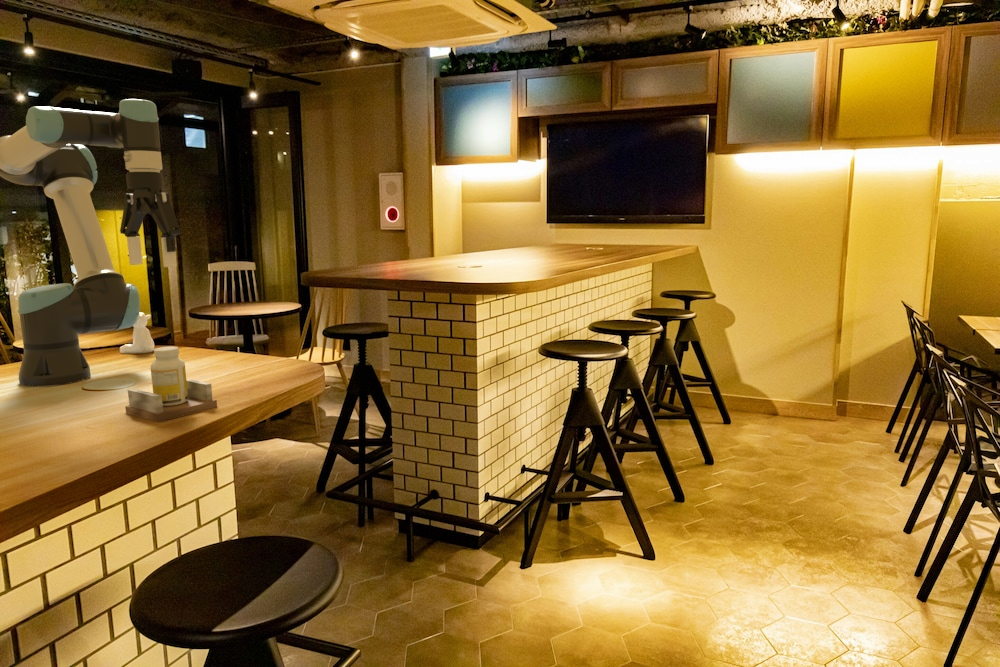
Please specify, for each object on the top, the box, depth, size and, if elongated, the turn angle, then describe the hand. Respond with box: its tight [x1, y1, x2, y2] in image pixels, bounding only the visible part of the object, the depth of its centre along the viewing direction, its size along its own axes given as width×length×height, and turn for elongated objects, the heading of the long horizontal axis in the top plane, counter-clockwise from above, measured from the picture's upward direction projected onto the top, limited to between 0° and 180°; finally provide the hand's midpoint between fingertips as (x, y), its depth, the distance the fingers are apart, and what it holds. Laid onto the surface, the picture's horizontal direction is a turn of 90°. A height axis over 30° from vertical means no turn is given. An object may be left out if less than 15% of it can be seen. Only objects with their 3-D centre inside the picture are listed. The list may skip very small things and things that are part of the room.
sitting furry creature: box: [119, 311, 155, 354], centre depth 211 cm, size 10×9×12 cm
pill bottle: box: [150, 346, 188, 406], centre depth 148 cm, size 6×6×12 cm
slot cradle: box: [124, 378, 218, 423], centre depth 149 cm, size 12×13×5 cm
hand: (152, 265), depth 164 cm, fingers open, 13 cm apart
